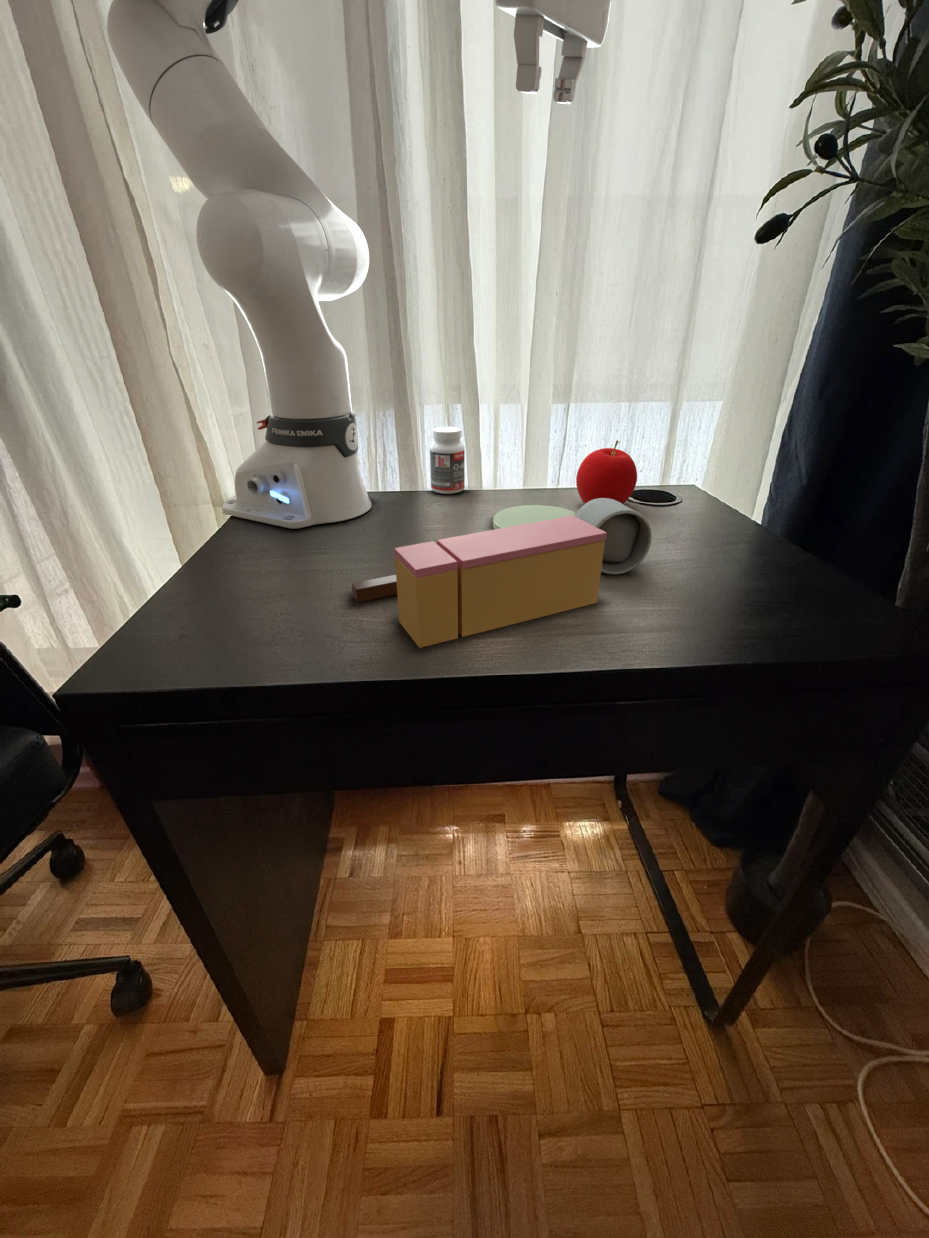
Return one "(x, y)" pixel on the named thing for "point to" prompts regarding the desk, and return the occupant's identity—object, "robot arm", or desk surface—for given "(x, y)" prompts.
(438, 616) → the cake slice
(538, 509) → the plate
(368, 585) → the brown stick with tip
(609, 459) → the fruit
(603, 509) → the ceramic mug
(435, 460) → the pill bottle
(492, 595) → the loaf cake
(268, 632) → the desk surface
